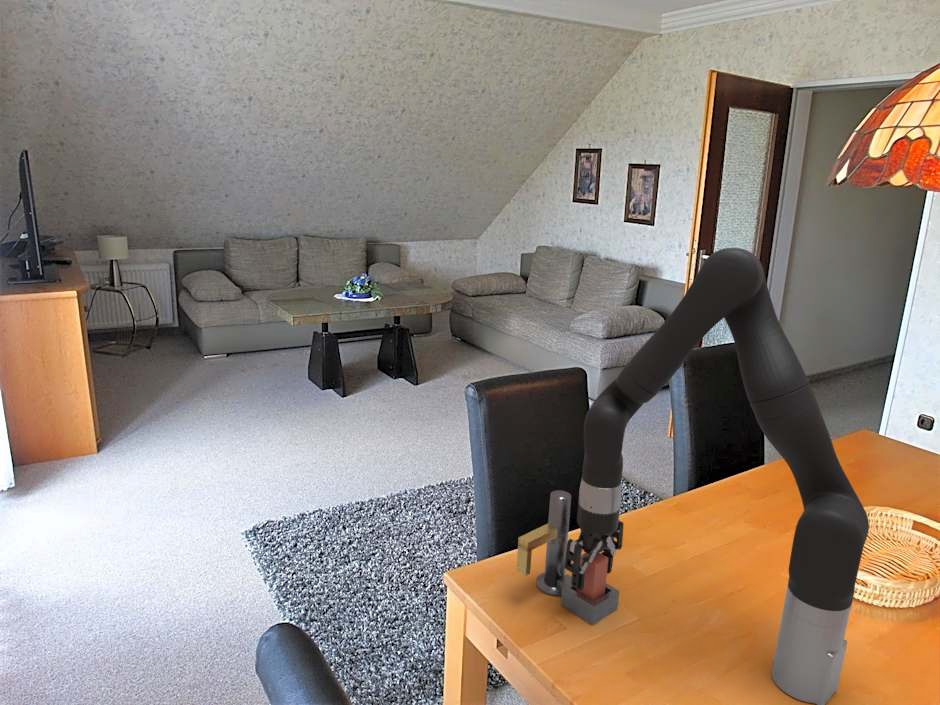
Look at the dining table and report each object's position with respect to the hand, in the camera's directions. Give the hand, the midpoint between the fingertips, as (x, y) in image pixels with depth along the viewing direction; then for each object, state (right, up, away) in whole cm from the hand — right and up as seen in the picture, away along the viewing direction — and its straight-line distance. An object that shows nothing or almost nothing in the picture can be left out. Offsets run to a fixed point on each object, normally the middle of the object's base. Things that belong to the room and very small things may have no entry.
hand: (591, 579), depth 127 cm
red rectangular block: (0, -6, +2) cm, 6 cm away
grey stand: (-5, -5, +3) cm, 8 cm away
